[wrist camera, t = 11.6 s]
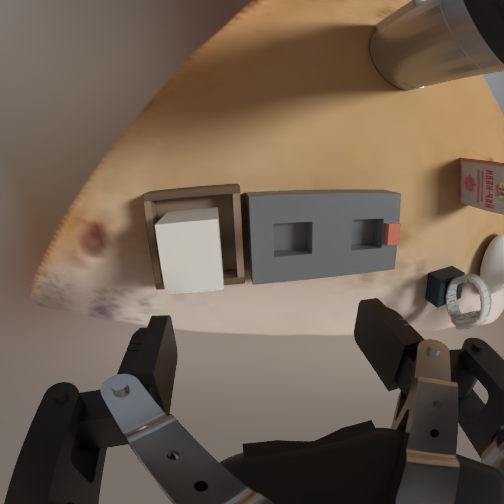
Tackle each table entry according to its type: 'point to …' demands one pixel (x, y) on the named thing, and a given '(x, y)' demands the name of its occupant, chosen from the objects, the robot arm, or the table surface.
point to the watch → (457, 295)
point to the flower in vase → (494, 264)
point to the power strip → (321, 233)
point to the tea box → (482, 184)
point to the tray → (199, 199)
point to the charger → (190, 251)
